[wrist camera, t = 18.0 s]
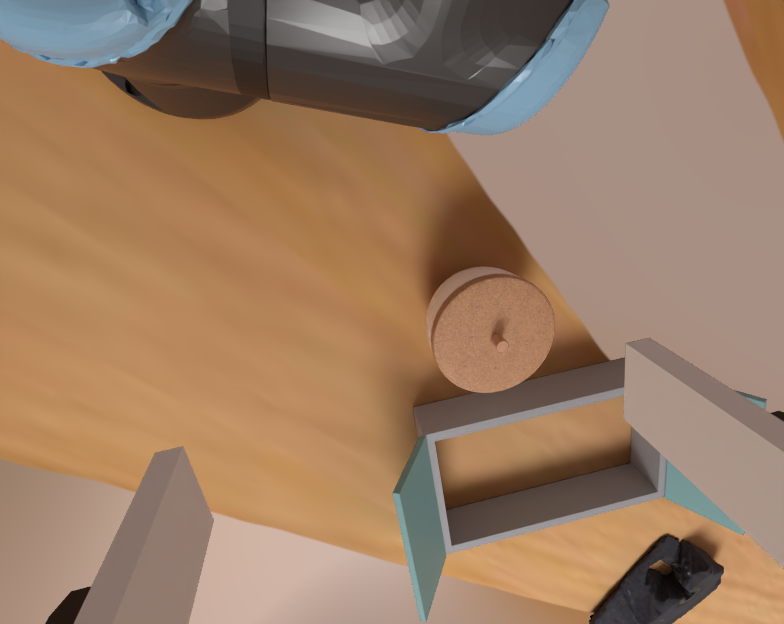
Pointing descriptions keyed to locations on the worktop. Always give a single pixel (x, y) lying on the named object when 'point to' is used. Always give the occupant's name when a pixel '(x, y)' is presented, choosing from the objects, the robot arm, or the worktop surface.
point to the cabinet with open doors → (536, 505)
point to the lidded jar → (489, 329)
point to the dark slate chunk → (662, 586)
